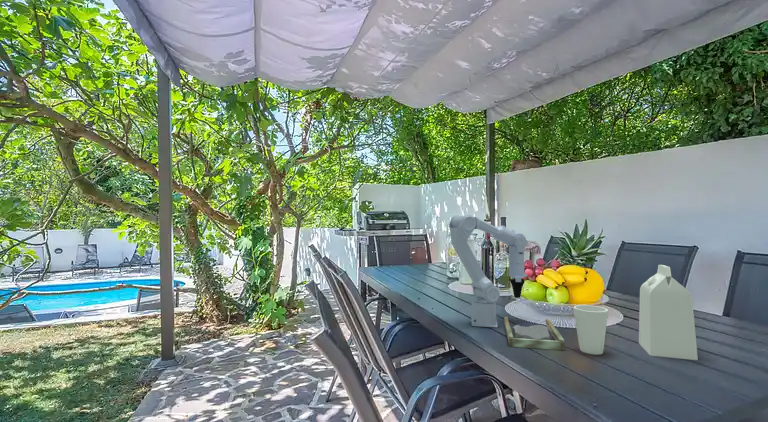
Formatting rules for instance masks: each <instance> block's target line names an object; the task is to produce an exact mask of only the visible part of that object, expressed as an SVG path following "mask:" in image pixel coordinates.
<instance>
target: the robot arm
mask: <svg viewBox="0 0 768 422" xmlns="http://www.w3.org/2000/svg"><path fill="white" fill-rule="evenodd" d="M448 228H449V230H450V242H451V243H450V244H451V245H452V247H453V249H454V251H455V252H456V255H457V256H458V258H459V260H460V261H461V264H462V265H463V267H464V268H465V271H466V272H467V274H468V276H469V278H470V279H471V283H470V285H471V288H472V293H473V295H474V297H475V300H471V310H470V311H471V315H470V321H471V326H472V327H481V328H482V327H484V328H499V327H498V321H497V301H498V300H499V298H500V294H501V292H500V289H499V288H498V287H497V286H496V285H494V283H493V282H492V280H491V279H489V278H488V277H487V276H486V274H485V273H484V270H483V269H482V267H481V265H480V263H479V262H478V260H477V257H476V256H475V254H474V253H473V251H472V249H471V247H470V245H469V243H468V239H469V238H470V236H471V235H472V233H473V232H474V231H475V230H479V231H482V232H485V233H487V234H489V235H492V238H493V240H496V241H498V242H501V243H503V244H505V245H506V246H507V247H508V266H509V267H508V268H509V269H508V270H509V273H508V277H509V282H510V284H511V287H512V292H513V297H514V298H515V299H516V298H517V299H520V298H521V297H522V296H521V295H522V289H523V286H524V284H525V281H526V280H525V277H527V278H528V273H527V274H526V273H525V251H526V246H527V244H528V240H527V238H526V236H525V235H524V234H523V233H516V230H514V229H513V230H511V229H509V228H507V226H505V225H503V224H502V225H498V226H495V225H493V224H491V223H488V222H486V221H485V220H483V219H480V218H479V217H477V216H473V215H471V214H466V215H459V214H458V215H454V216H452V217H451V219H450V221H449V224H448Z"/></svg>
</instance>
